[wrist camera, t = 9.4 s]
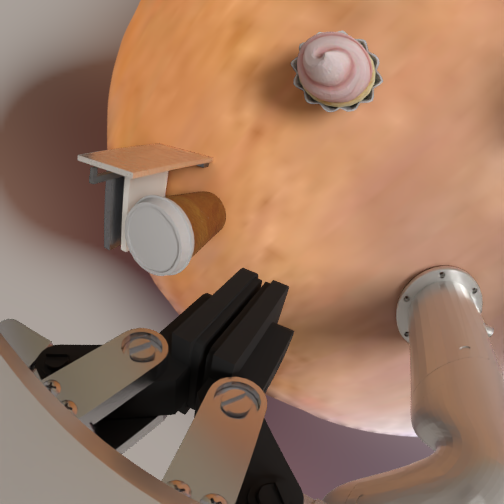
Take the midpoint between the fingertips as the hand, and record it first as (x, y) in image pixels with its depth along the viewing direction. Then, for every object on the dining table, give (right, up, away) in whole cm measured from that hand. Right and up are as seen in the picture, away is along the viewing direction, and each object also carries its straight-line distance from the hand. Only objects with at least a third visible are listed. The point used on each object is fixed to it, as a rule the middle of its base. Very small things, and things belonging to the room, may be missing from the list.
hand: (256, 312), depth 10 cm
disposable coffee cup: (-7, +8, +32) cm, 33 cm away
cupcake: (+10, +22, +18) cm, 30 cm away
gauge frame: (-11, +9, +33) cm, 36 cm away
